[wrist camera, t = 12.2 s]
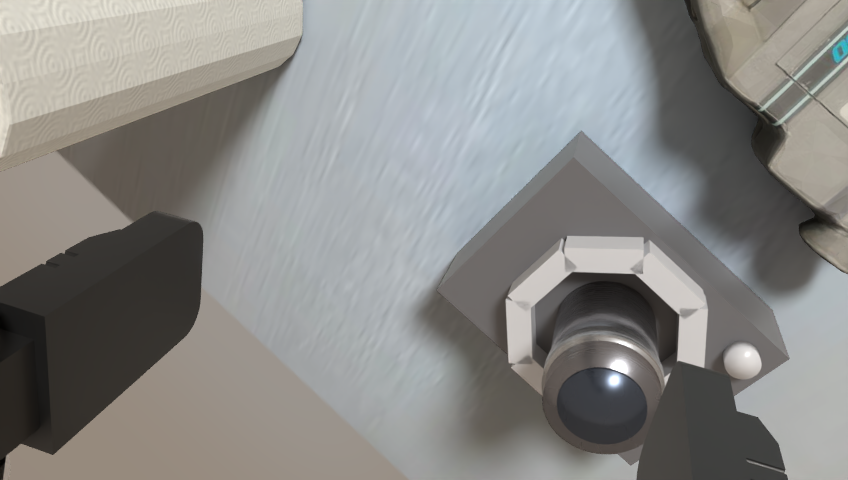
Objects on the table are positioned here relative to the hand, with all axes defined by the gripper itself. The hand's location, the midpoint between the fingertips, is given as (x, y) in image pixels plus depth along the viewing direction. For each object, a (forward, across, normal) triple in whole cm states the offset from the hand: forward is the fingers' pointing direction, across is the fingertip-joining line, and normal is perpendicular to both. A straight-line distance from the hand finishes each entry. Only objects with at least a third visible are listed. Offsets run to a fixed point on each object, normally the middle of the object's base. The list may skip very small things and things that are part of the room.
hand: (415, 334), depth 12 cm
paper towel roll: (+28, +17, +1) cm, 33 cm away
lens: (+23, -5, +11) cm, 26 cm away
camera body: (+28, -5, +11) cm, 31 cm away
